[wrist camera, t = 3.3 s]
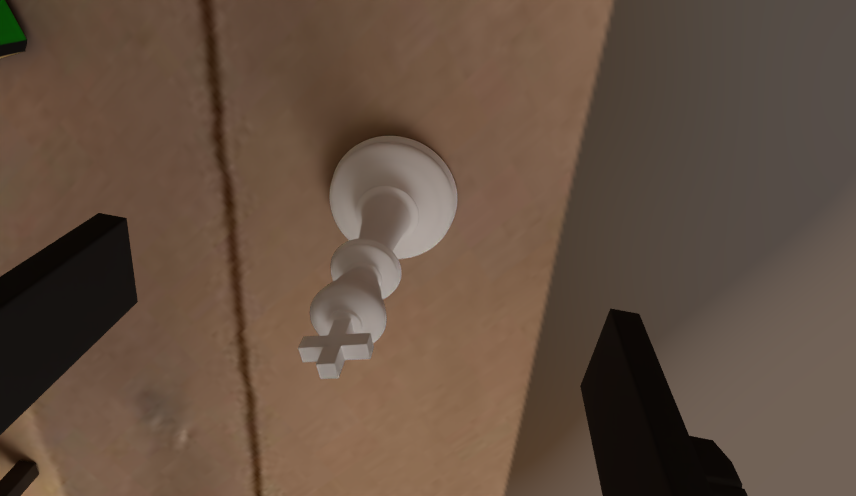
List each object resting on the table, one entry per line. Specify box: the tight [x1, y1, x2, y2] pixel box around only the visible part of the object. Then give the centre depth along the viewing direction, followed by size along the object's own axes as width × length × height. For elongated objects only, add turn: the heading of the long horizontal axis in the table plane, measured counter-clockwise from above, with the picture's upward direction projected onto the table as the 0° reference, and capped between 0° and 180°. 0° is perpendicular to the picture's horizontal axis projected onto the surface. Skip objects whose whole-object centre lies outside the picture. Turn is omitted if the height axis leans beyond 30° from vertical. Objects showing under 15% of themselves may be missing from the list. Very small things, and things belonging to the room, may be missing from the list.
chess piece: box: [298, 136, 457, 379], centre depth 17 cm, size 5×5×10 cm
